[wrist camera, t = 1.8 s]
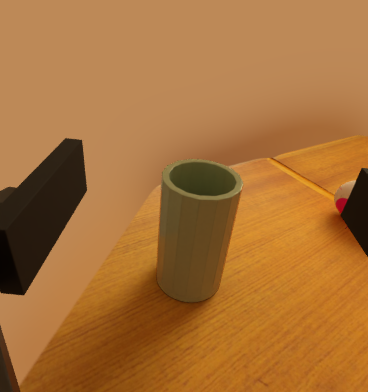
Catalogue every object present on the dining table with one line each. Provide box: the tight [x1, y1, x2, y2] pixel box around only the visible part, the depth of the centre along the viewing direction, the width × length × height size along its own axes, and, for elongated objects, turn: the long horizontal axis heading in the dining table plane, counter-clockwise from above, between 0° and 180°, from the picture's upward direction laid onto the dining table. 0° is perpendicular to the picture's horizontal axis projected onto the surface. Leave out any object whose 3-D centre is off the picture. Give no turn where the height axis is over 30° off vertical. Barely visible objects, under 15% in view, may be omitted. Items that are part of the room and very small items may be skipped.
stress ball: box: [334, 181, 356, 229], centre depth 43 cm, size 8×8×7 cm
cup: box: [156, 159, 243, 302], centre depth 29 cm, size 7×7×12 cm
